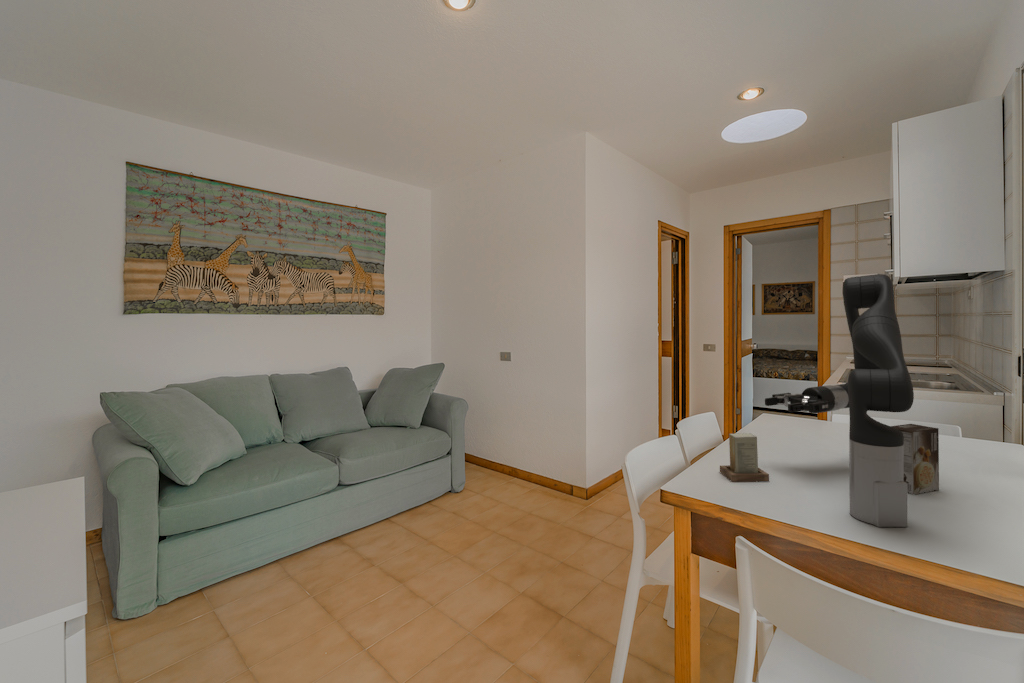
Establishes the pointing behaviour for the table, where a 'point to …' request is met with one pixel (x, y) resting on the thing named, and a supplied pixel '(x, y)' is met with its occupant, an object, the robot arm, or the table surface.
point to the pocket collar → (744, 475)
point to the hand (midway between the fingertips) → (776, 405)
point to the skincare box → (743, 453)
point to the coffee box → (920, 457)
